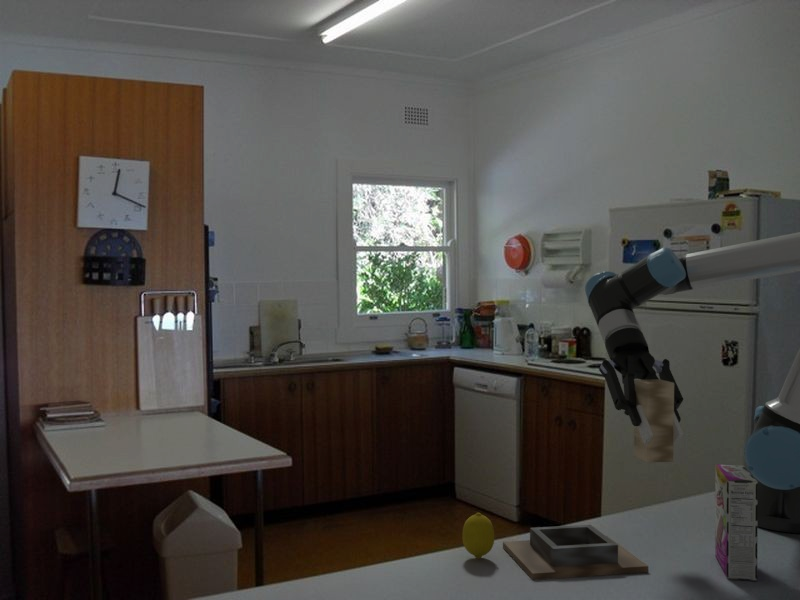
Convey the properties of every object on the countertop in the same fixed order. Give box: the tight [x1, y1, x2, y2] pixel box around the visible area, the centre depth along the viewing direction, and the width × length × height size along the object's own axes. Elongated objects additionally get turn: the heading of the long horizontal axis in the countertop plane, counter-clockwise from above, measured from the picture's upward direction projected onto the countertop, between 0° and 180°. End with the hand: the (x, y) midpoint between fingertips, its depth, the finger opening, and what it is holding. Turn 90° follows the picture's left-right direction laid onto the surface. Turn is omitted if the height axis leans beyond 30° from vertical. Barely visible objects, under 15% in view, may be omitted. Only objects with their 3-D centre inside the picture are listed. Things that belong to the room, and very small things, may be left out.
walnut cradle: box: [502, 524, 649, 581], centre depth 141 cm, size 20×16×4 cm
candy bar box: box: [714, 463, 759, 582], centre depth 136 cm, size 11×5×16 cm, turn 168°
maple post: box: [633, 378, 674, 464], centre depth 146 cm, size 5×5×14 cm
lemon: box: [461, 512, 495, 560], centre depth 141 cm, size 6×6×8 cm
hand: (663, 439), depth 143 cm, fingers closed on maple post, 5 cm apart
